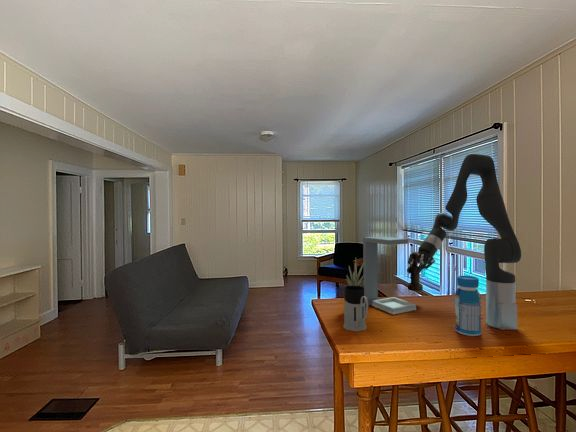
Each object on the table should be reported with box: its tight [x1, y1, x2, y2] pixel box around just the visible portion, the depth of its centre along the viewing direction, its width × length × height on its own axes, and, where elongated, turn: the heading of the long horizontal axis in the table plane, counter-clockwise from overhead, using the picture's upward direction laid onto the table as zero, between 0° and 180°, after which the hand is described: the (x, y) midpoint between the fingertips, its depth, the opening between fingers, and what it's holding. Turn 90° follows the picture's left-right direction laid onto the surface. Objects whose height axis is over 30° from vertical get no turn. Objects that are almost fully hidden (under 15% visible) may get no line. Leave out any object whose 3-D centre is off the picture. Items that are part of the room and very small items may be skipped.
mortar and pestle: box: [407, 251, 424, 292], centre depth 147 cm, size 7×6×18 cm
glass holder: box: [342, 285, 369, 332], centre depth 116 cm, size 9×14×15 cm, turn 15°
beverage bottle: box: [454, 275, 483, 337], centre depth 112 cm, size 8×8×20 cm
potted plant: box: [343, 258, 367, 303], centre depth 134 cm, size 10×10×25 cm
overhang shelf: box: [362, 235, 417, 315], centre depth 142 cm, size 16×17×32 cm
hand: (412, 273), depth 146 cm, fingers closed on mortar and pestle, 4 cm apart
